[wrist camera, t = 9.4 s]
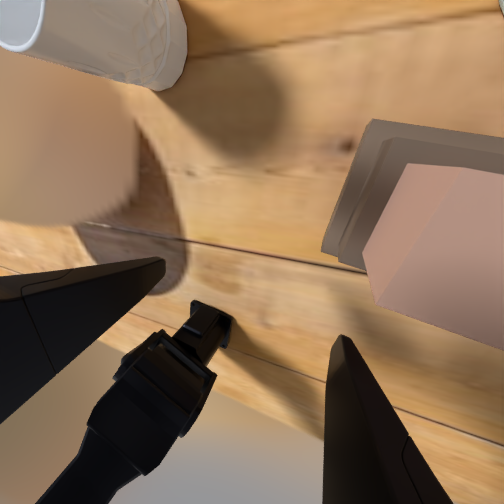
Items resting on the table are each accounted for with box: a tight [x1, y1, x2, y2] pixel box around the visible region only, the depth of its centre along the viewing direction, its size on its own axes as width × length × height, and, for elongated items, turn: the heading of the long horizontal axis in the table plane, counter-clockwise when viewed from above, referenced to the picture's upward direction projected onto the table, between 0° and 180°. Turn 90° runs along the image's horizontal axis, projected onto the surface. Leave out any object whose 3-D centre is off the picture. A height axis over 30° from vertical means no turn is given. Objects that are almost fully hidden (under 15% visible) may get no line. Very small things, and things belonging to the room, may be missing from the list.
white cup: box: [0, 0, 187, 91], centre depth 13 cm, size 8×8×10 cm
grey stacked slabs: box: [321, 119, 504, 271], centre depth 13 cm, size 9×9×6 cm
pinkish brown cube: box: [362, 163, 504, 350], centre depth 8 cm, size 5×5×5 cm
